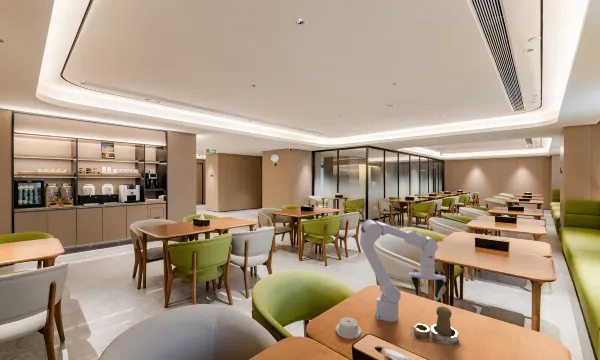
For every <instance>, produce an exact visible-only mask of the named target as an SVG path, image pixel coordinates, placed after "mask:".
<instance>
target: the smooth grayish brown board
mask: <svg viewBox="0 0 600 360" xmlns="http://www.w3.org/2000/svg"><path fill="white" fill-rule="evenodd" d="M408 327H409V331H410V335H411V339H412V340H415V341H420V342H428V343H429V342H430V343H436V344H441V345H442V344H443V343H441V342H438V341H436V340H435V339H434V338H432V336H431V328H429V329H430V336H429V338H420V337H418V336H416V335H415V334H414V326H410V325H409V326H408ZM451 346H456V347H457V346H459V347H462V343H461V341H460V339H459V338H458V341H457V343H456V344H451Z"/></svg>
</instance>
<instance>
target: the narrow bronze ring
mask: <svg viewBox="0 0 600 360" xmlns="http://www.w3.org/2000/svg"><path fill="white" fill-rule="evenodd" d="M413 327H414V334H415V335H416V336H418V337H420V338H429V336H430V329H431V328H430V327H429V326H427V324H422V323H415V324H414V325H413Z"/></svg>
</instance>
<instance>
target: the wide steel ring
mask: <svg viewBox="0 0 600 360" xmlns="http://www.w3.org/2000/svg"><path fill="white" fill-rule="evenodd" d="M436 324H437V323H435V324H432V325H431V326H430V329H431V336H432V338H434V339H435V340H436V341H438V342H441V343H440V344H442V343H443V344H444V345H451V344H456V343H457V341H458V339H459V333H458V331H457V330H456V329H455V328H453V327H452V326H451V332H452V336H450V337H449V336H443V335H440V334H438V333H436V332H435V330H436ZM451 346H452V345H451Z"/></svg>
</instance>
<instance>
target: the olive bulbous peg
mask: <svg viewBox="0 0 600 360" xmlns="http://www.w3.org/2000/svg"><path fill="white" fill-rule="evenodd" d="M435 312H436V315H437V320H436V323H435V324H436V330H435V332H436V333H438V334H440V335H443V336H449V337H450V336H452V332H451V327H452V326H451V325H452V324H451V317H452V314H453V313H452V311H451V309H450V308H449V307H446V306H438V307H437V308H436V311H435Z"/></svg>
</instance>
